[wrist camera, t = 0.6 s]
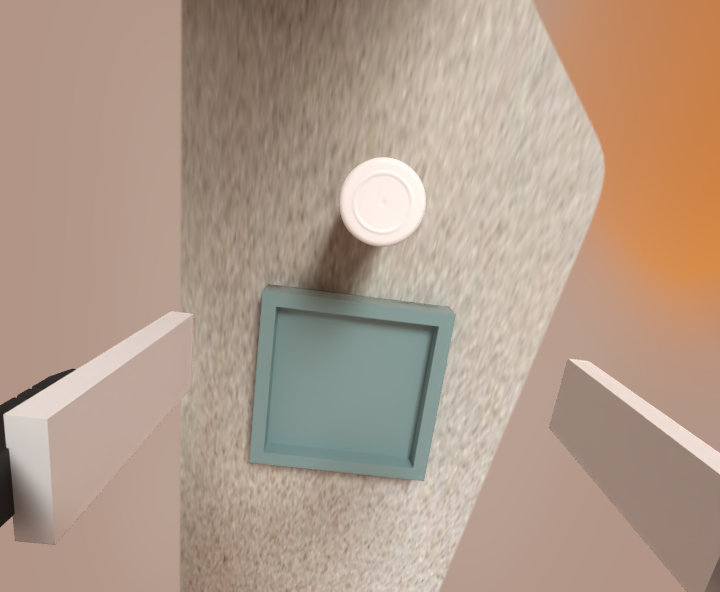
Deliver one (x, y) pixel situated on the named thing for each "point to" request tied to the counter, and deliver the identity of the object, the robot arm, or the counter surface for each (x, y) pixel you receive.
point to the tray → (348, 382)
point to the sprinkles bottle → (382, 202)
